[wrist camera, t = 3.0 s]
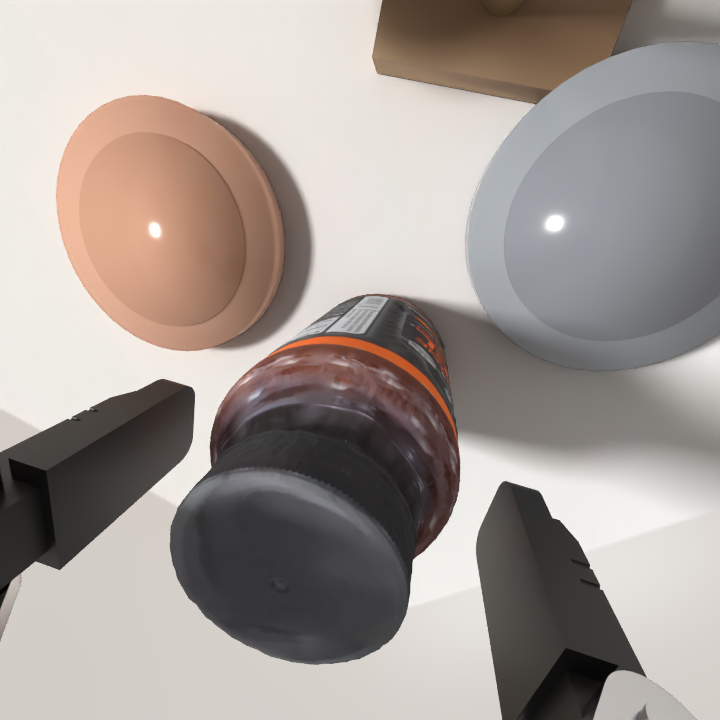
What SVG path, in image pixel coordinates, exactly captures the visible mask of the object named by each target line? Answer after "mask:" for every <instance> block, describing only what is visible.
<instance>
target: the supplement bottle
mask: <svg viewBox="0 0 720 720" xmlns="http://www.w3.org/2000/svg"><path fill="white" fill-rule="evenodd" d="M210 438H211V441H210V456H211V466H212V468H211V469H210V471H209V472H208V473H207V474H206V475H205V476H204V477H203V478H202V479H201V480H200V481H199V482H198V483H197V484H196V485H195V486H194V487H193V489H192V490H191V491H190V492H189V494H188V495H187V496H186V497H185V498H184V500H183V501H182V503H181V504H180V505H179V507H178V509H177V512H176V515H175V517H174V520H173V522H172V525H171V533H170V535H171V537H170V550H171V556H172V562H173V566H174V568H175V571H176V575H177V578H178V580H179V582H180V584H181V586H182V587H183V589H184V591H185V593H186V594H187V596H188V598H189V599H190V600H191V601H193V602H194V603H195V604H197V606H198V607H199V609H200V610H201V612H202V613H203V614H204V615H205V617H206V618H208V619H209V620H211V621H212V622H213V623H214V624H215V625H216V626H218V627H219V628H221V629H222V630H223V631H225V632H226V633H227V634H228V635H230V636H231V637H232V638H234V639H236V640H238V641H240V642H242V643H243V644H245V645H247V646H249V647H252V648H254V649H257V650H259V651H261V652H262V653H264V654H267V655H269V656H271V657H275V658H280V659H283V660H287V661H290V662H296V663H305V664H317V665H318V664H333V663H340V662H348V661H350V660H355V659H360V658H362V657H364V656H366V655H368V654H370V653H372V652H374V651H376V650H379V649H380V648H381V647H382V646H383V645H384V644H386V643H388V642H389V641H390V640H391V639H392V638H393V637H394V635H395V634H396V633H397V631H398V630H399V628H400V626H401V624H402V622H403V620H404V618H405V615H406V612H407V608H408V602H409V596H410V582H411V574H412V562H413V559H414V558H415V557H417V556H418V555H419V554H421V553H422V552H424V551H425V550H426V548H427V547H428V546H429V545H430V544H431V543H432V542H433V541H434V540H435V539H436V538H437V536H438V535H439V533H440V532H441V531H442V529H443V528H444V526H445V525H446V524H447V522H448V520H449V517H450V516H451V514H452V511H453V507H454V505H455V503H456V501H457V497H458V491H459V482H460V457H459V447H458V431H457V428H456V419H455V417H454V412H453V402H452V397H451V390H450V385H449V376H448V369H447V363H446V356H445V351H444V345H443V343H442V341H441V338H440V336H439V334H438V332H437V330H436V329H435V327H434V325H433V324H432V322H431V321H430V320H429V319H428V317H427V316H426V315H425V314H424V313H423V312H422V311H421V310H420V309H418V308H417V307H415V306H414V305H412V304H410V303H409V302H407V301H406V300H403V299H400V298H398V297H394V296H390V295H383V294H367V295H361V296H357V297H354V298H351V299H349V300H347V301H345V302H343V303H341V304H339V305H338V306H336V307H335V308H333V309H332V310H330V311H329V312H328V313H326V314H325V315H323V316H322V317H321V318H319V319H318V320H316V321H315V322H314V323H312V324H311V325H310V326H308V327H307V328H306V329H304V330H303V331H302V332H300V333H299V334H297V335H296V336H295V337H293V338H292V339H291V340H289V341H288V342H286V343H285V344H283V345H282V346H281V347H279V348H278V349H276V350H275V351H274V352H272V353H271V354H270V355H269V356H267V357H266V358H265V359H263V360H262V361H260V362H259V363H258V364H256V365H255V366H254V367H253V368H251V369H250V370H249V371H248V372H247V373H245V374H244V375H243V376H242V377H241V378H240V379H239V380H238V381H237V383H236V384H235V385H234V386H233V387H232V388H231V389H230V391H229V392H228V394H227V395H226V397H225V398H224V400H223V401H222V403H221V405H220V406H219V408H218V412H217V414H216V417H215V420H214V424H213V428H212V431H211V437H210Z"/></svg>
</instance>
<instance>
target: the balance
mask: <svg viewBox="0 0 720 720" xmlns="http://www.w3.org/2000/svg"><path fill="white" fill-rule="evenodd" d="M631 3H632V0H382V6H381V11H380V17H379V22H378V28H377V33H376V39H375V44H374V50H373V55H372V58H373V61H374V65H375V68H376V71H377V73H378V74H384V75H389V76H394V77H399V78H405V79H410V80H415V81H420V82H426V83H431V84H436V85H441V86H447V87H452V88H457V89H462V90H468V91H473V92H478V93H483V94H488V95H494V96H499V97H504V98H509V99H515V100H520V101H525V102H530V103H536V104H538V103H539V102H540V101H541V100H542V99H543V98H544V97H545V96H547V95H548V94H549V93H551V92H552V91H553V90H554V89H556V88H557V87H558V86H559V85H561V84H562V83H563V82H565V81H567V80H568V79H570V78H571V77H573V76H575V75H576V74H578V73H579V72H581V71H583V70H584V69H586V68H588V67H590V66H592V65H594V64H596V63H598V62H600V61H603V60H605V59H607V58H609V57H611V54H612V51H613V49H614V46H615V44H616V41H617V39H618V36H619V33H620V31H621V28H622V26H623V23H624V21H625V18H626V15H627V13H628V10H629V8H630V5H631ZM590 71H591V70H590ZM590 80H591V79H590ZM588 86H589V85H588ZM571 89H572V88H571Z"/></svg>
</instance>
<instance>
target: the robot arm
mask: <svg viewBox="0 0 720 720" xmlns="http://www.w3.org/2000/svg"><path fill="white" fill-rule="evenodd" d="M194 405H195V392H194V390H193V388H191V387H189V386H186V385H182V384H179V383H176V382H172V381H169V380H166V379H160V380H157V381H155V382H153V383H152V384H150V385H148V386H146V387H144V388H142V389H140V390H138V391H134V392H130V393H126V394H123V395H119V396H115V397H111V398H109V399H107V400H105V401H103V402H101V403H99V404H97V405H95V406H93V407H91V408H90V410H89V411H88V410H85V411H83V412H81V413H79V414H77V415H75V416H73V417H72V419H71V420H69V419H67V420H65V421H63V422H61V423H59V424H57V425H55V426H53V427H51V428H49V429H47V430H45V431H42V432H40V433H38V434H36V435H35V436H33V437H30V438H29V439H26V440H24V441H22V442H20V443H18V444H16V445H14V446H13V447H10V448H8V449H6V450H4V451H2V452H0V640H1V637H2V635H3V632H4V629H5V627H6V624H7V621H8V618H9V616H10V613H11V610H12V608H13V605H14V602H15V600H16V596H17V594H18V591H19V589H20V585H21V573H22V572H23V571H24V570H25V569H26V568H28V567H29V566H30V565H31V564H33V563H34V562H35V561H36V562H39V563H42V564H45V565H47V566H50V567H53V568H56V569H58V570H60V569H61V568H62V567H64V566H65V565H66V564H67V563H68V562H69V561H70V560H71V559H73V558H74V557H75V556H76V555H77V554H78V553H79V552H80V551H81V550H82V549H84V548H85V547H86V546H87V545H88V544H89V543H90V542H91V541H93V540H94V538H96V537H97V536H98V535H99V534H100V533H101V532H103V531H104V530H105V529H106V528H107V527H108V526H109V525H110V524H112V523H113V522H114V521H115V520H116V519H117V518H118V517H119V516H120V515H122V514H123V513H124V512H125V511H126V510H127V509H128V508H129V507H130V506H132V505H133V504H134V503H135V502H136V501H137V500H138V499H139V498H140V497H142V496H143V495H144V494H145V493H146V492H147V491H148V490H149V489H151V488H152V487H153V486H154V485H155V484H156V483H157V482H158V481H159V480H161V479H162V478H163V477H164V476H165V475H166V474H167V473H168V472H169V471H171V470H172V469H173V468H174V467H175V466H176V465H177V464H178V463H180V462H181V461H182V460H183V458H184V457H185V456H186V454H187V452H188V451H189V449H190V446H191V443H192V439H193V424H194ZM476 556H477V563H478V569H479V576H480V582H481V588H482V594H483V601H484V606H485V613H486V620H487V626H488V632H489V638H490V645H491V651H492V656H493V664H494V669H495V676H496V682H497V689H498V695H499V701H500V708H501V714H502V720H697V719H696V718H695V717H694V715H693V714H692V713H691V712H690V711H688V709H687V708H686V707H685V706H684V705H683V704H682V703H681V702H679V701H678V700H677V699H676V698H675V697H674V696H673V695H671V694H670V693H669V692H668V691H666V690H665V689H664V688H662V687H661V686H659V685H658V684H656V683H655V682H653V681H652V680H650V679H648V678H647V677H646V675H645V673H644V671H643V669H642V667H641V665H640V663H639V661H638V659H637V657H636V655H635V653H634V651H633V649H632V647H631V645H630V643H629V641H628V639H627V637H626V635H625V633H624V631H623V629H622V628H621V625H620V624H619V621H618V619H617V617H616V616H615V614H614V612H613V610H612V608H611V606H610V604H609V602H608V600H607V598H606V596H605V594H604V592H603V590H600V584H599V582H598V580H597V578H596V576H595V575H594V572H593V570H592V569H590V564H589V562H588V560H587V558H586V556H585V554H584V552H583V550H582V548H581V546H580V544H579V542H578V541H577V540H576V539H575V538H574V536H573V535H572V534H571V533H570V532H569V531H568V530H567V528H566V527H565V526H564V525H563V524H562V523H561V522H560V520H557V519H553V518H552V517H551V514H550V512H549V510H548V508H547V506H546V503H545V501H544V499H543V497H542V495H541V493H540V492H539V491H537V490H534V489H531V488H527V487H524V486H520V485H517V484H514V483H510V482H507V481H504V482H502V483H501V485H500V486H499V488H498V490H497V492H496V494H495V496H494V499H493V501H492V503H491V505H490V507H489V510H488V512H487V514H486V516H485V518H484V520H483V523H482V525H481V527H480V530H479V533H478V537H477V544H476Z"/></svg>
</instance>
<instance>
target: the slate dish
mask: <svg viewBox="0 0 720 720" xmlns="http://www.w3.org/2000/svg"><path fill="white" fill-rule="evenodd" d="M590 70H591V71H590ZM590 79H591V80H590ZM588 85H589V86H588ZM571 88H572V89H571ZM465 244H466V261H467V268H468V273H469V277H470V280H471V283H472V287H473V289H474V291H475V294H476V296H477V298H478V300H479V302H480V304H481V305H482V307H483V308H484V310H485V312H486V313H487V315H488V316H489V317H490V318H491V320H492V321H493V322H494V323H495V325H496V326H497V327H498V328H499V329H500V330H501V332H502V333H503V334H504V335H506V336H507V337H508V338H509V339H510V340H511V341H512V342H514V343H515V344H516V345H518V346H519V347H521V348H522V349H524V350H525V351H527V352H528V353H530V354H532V355H534V356H536V357H538V358H540V359H543V360H545V361H548V362H551V363H554V364H557V365H560V366H564V367H569V368H574V369H579V370H591V371H615V370H624V369H631V368H638V367H642V366H646V365H651V364H655V363H659V362H661V361H664V360H667V359H670V358H673V357H676V356H678V355H681V354H683V353H685V352H687V351H689V350H691V349H694V348H696V347H698V346H700V345H702V344H703V343H705V342H707V341H708V340H710V339H712V338H713V337H715V336H717V335H719V334H720V45H719V44H715V43H704V42H692V41H684V42H667V43H659V44H654V45H649V46H644V47H639V48H635V49H632V50H629V51H626V52H623V53H620V54H617V55H614V56H611V57H609V58H607V59H605V60H603V61H600V62H598V63H596V64H594V65H592V66H590V67H588V68H586V69H584V70H583V71H581V72H579V73H578V74H576V75H575V76H573V77H571V78H570V79H568V80H567V81H565V82H563V83H562V84H561V85H559V86H558V87H557V88H556V89H554V90H553V91H552V92H551V93H549V94H548V95H547V96H545V97H544V98H543V99H542V100H541V101H540V102H539V103H538V104H537V105H536V106H535V107H534V108H532V109H531V110H530V111H529V112H528V113H527V114H526V115H525V116H524V117H523V119H522V120H521V121H520V122H519V123H518V125H517V126H516V127H515V128H514V129H513V131H512V132H511V133H510V134H509V135H508V137H507V138H506V139H505V140H504V142H503V143H502V144H501V145H500V147H499V148H498V150H497V151H496V153H495V155H494V156H493V158H492V159H491V161H490V162H489V164H488V166H487V168H486V170H485V171H484V173H483V175H482V177H481V179H480V181H479V184H478V186H477V189H476V192H475V194H474V197H473V200H472V203H471V207H470V211H469V216H468V220H467V228H466V237H465Z"/></svg>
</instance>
